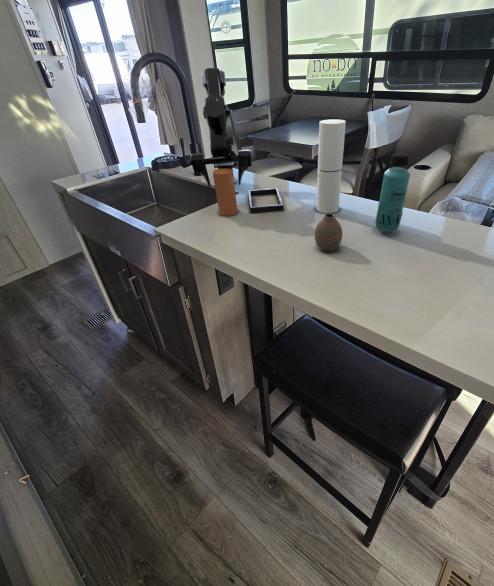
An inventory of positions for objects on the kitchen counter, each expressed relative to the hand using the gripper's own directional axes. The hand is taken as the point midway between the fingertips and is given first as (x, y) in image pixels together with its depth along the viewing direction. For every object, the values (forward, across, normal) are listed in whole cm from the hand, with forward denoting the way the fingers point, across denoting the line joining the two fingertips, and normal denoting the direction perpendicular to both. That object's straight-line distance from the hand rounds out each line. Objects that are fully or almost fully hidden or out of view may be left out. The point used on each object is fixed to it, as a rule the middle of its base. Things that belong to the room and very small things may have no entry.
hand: (224, 185), depth 97 cm
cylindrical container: (+10, +32, +2) cm, 33 cm away
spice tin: (+7, 0, +5) cm, 8 cm away
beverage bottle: (+24, +43, -12) cm, 51 cm away
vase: (+28, +25, -16) cm, 41 cm away
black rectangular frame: (+3, +13, +9) cm, 16 cm away
